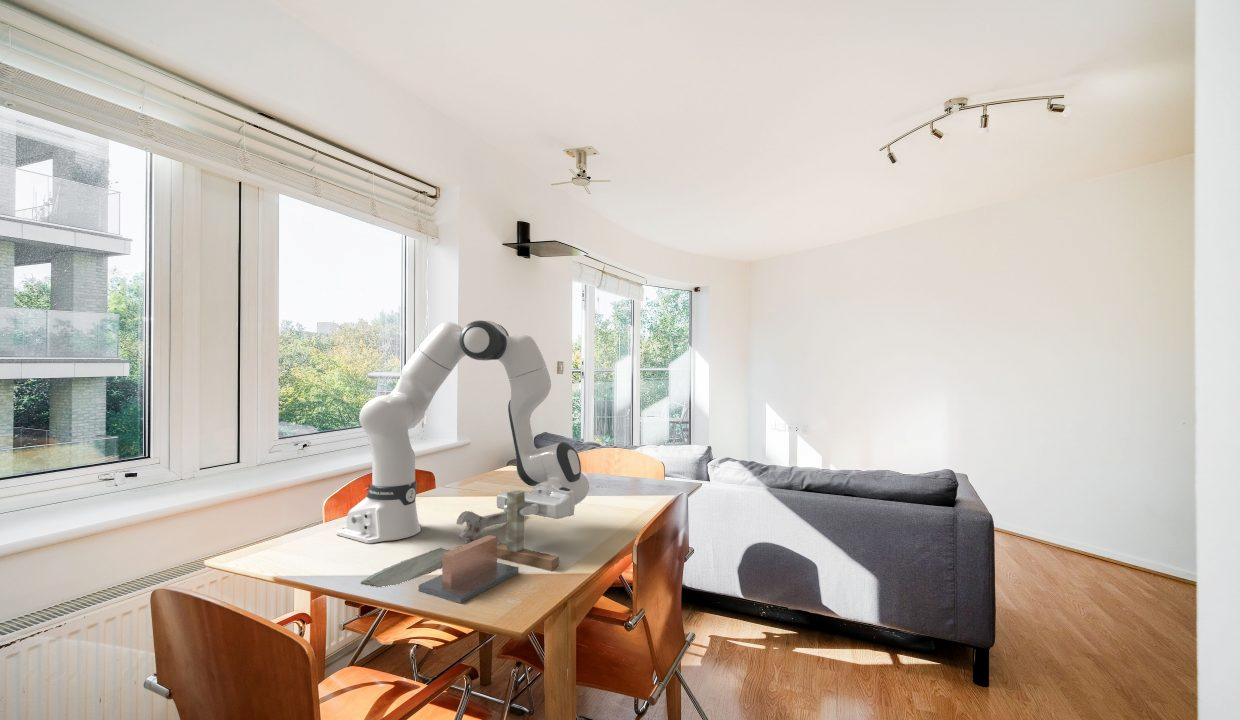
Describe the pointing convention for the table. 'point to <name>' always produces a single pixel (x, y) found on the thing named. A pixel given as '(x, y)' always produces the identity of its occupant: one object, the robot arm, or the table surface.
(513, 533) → the brown t-shaped piece
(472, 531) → the wrench
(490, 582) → the stand
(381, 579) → the stone slab
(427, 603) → the table surface
